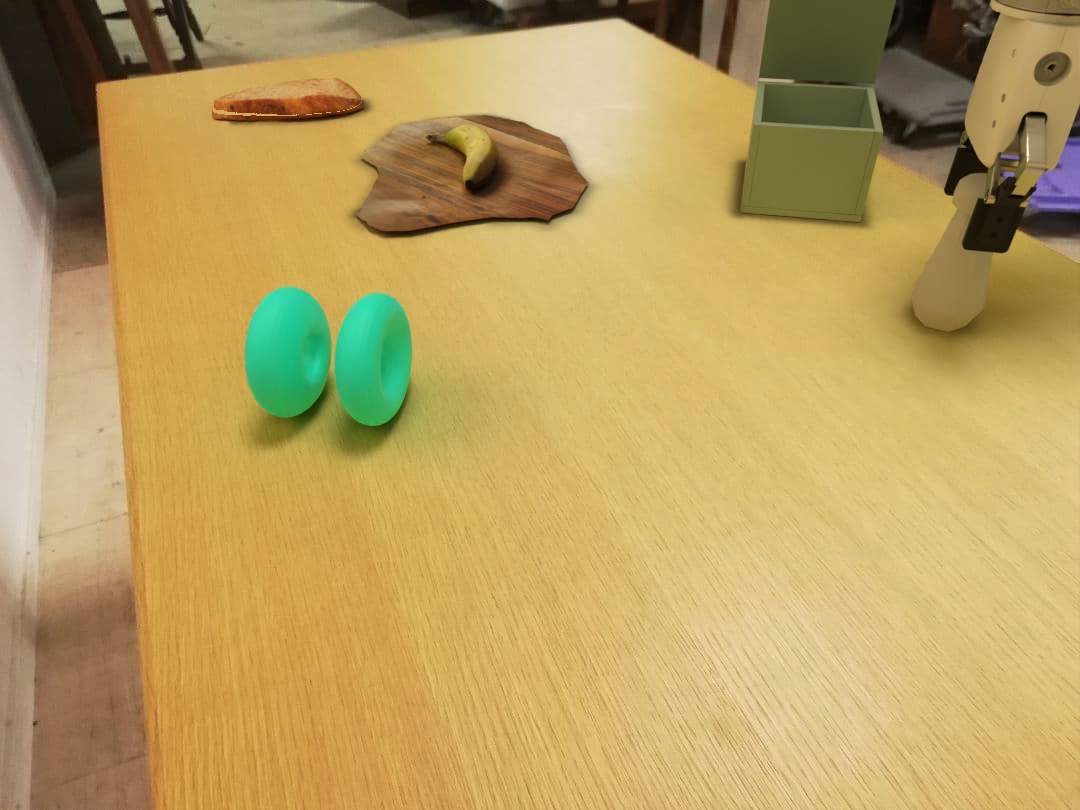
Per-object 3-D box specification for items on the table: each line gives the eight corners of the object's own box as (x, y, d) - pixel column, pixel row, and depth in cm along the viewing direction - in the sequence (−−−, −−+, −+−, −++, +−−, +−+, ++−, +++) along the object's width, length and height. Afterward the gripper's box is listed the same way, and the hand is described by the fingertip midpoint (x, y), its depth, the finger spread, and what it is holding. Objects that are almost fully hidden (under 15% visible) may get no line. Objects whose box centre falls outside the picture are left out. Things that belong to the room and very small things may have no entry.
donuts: (385, 455, 58) (361, 345, 52) (259, 442, 60) (221, 334, 53) (423, 373, 66) (406, 269, 59) (310, 364, 67) (282, 261, 61)
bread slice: (203, 114, 115) (195, 88, 112) (305, 82, 125) (300, 57, 122) (271, 144, 105) (264, 116, 103) (376, 106, 115) (372, 80, 113)
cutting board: (608, 217, 86) (609, 184, 84) (357, 247, 83) (351, 214, 80) (544, 109, 113) (543, 81, 110) (352, 128, 109) (347, 100, 107)
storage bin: (860, 222, 84) (883, 131, 77) (740, 212, 86) (753, 124, 80) (853, 170, 94) (873, 86, 87) (746, 163, 96) (758, 80, 90)
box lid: (911, -63, 77) (907, -77, 80) (779, -65, 79) (780, -79, 83) (874, 84, 87) (872, 65, 90) (758, 78, 89) (760, 60, 93)
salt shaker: (971, 305, 71) (1024, 167, 63) (980, 341, 67) (1038, 199, 58) (902, 297, 72) (945, 161, 64) (907, 332, 68) (953, 192, 60)
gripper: (1167, 23, 45) (1049, 280, 56) (1085, -38, 58) (1002, 181, 69) (1025, 17, 47) (937, 269, 58) (976, -41, 60) (911, 174, 71)
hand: (972, 221), depth 63 cm, fingers open, 9 cm apart
